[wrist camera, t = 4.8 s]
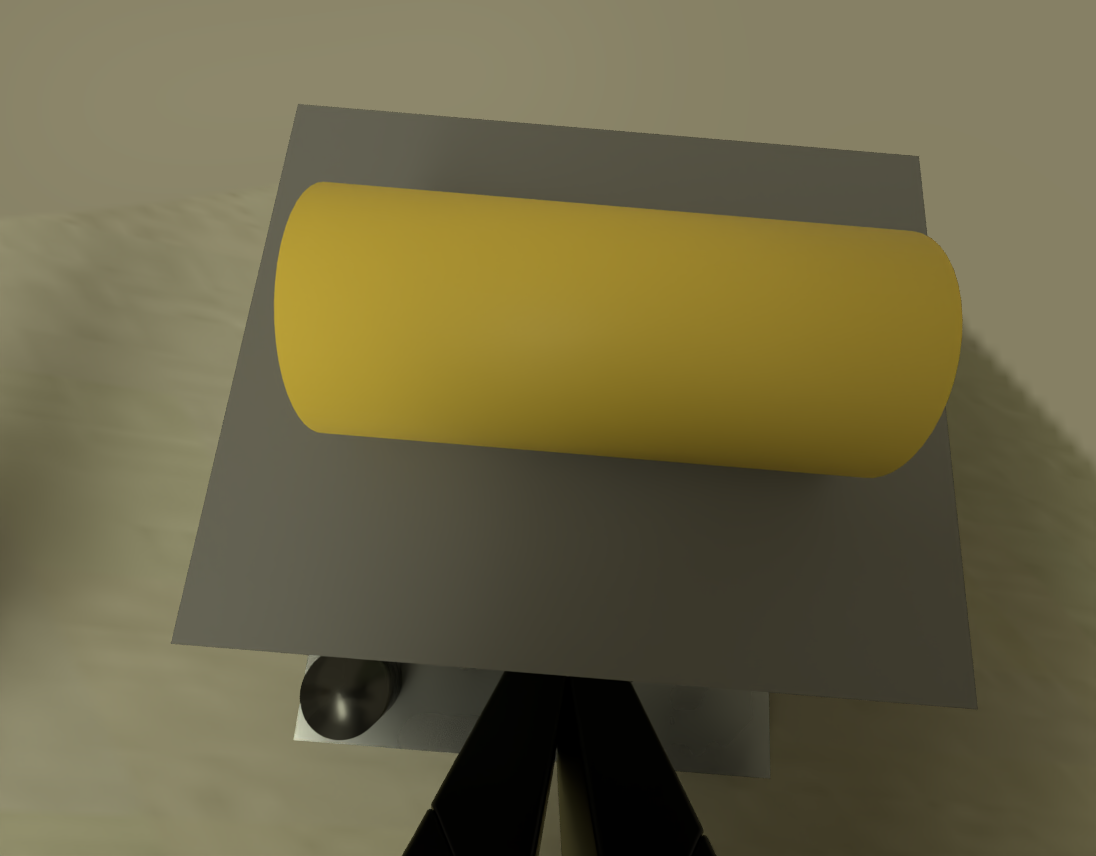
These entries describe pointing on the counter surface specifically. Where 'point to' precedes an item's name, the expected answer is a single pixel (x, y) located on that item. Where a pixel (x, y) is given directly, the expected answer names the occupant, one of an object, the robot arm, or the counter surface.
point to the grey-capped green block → (593, 414)
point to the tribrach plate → (461, 694)
